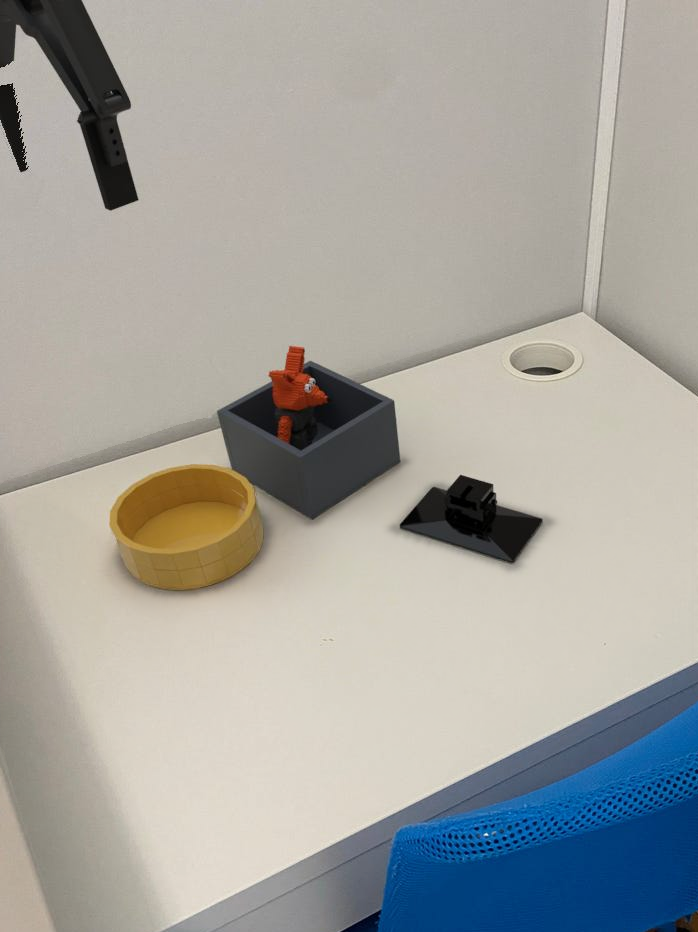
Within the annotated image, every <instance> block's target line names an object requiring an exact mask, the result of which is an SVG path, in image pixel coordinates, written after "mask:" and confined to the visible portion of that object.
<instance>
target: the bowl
mask: <svg viewBox="0 0 698 932" xmlns="http://www.w3.org/2000/svg"><path fill="white" fill-rule="evenodd" d="M261 515H262V514H261V511H260V507H259V502H258V498H257V495H256V490H255V488H254V486H253V484H251V483H250V482H249V481H248V480H247V478H245V477H244V476H242V475H241V474H239V473H237V472H236V471H234V470H232V468H228V467H224V466H220V465H217V464H203V463H202V464H201V463H199V464H197V463H193V464H185V465H184V464H183V465H179V466H172V467H168V468H165V469H162V470H159V471H156V472H153V473H150V474H148V475H147V476H145V477H143V478H141V479H139V480H138V481H136V482H134V483H132V484H131V485H129V486H128V487H127V489H125V490H124V491H123V492H122V493H121V494H119V496H118V497H117V498H116V500H115V502H114V504H113V505H112V507H111V509H110V510H109V521H108V522H109V523H108V526H109V528H110V531H111V533H112V536H113V539H114V541H115V544H116V546H117V549H118V551H119V554H120V556H121V558H122V560H123V563H124V566H125V567H126V569H127V571H128V572H129V574H130V575H131V576H133V578H135V579H136V580H137V581H139V582H141V583H143V584H144V585H147V586H149V587H154V588H155V589H162V590H169V591H171V590H172V591H187V590H195V589H200V588H205V587H209V586H212V585H214V584H218V583H220V582H223V581H225V580H228V579H229V578H231V577H233V576H235V575H236V574H238V573H239V572H240V571H242V570H244V569H245V568H246V567H247V566H249V564H251V563H252V562H253V561H254V559H255V558H256V557H257V555H258V554H259V552H260V551H261V548H262V547H263V543H264V539H265V531H264V525H263V520H262V516H261Z"/></svg>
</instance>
